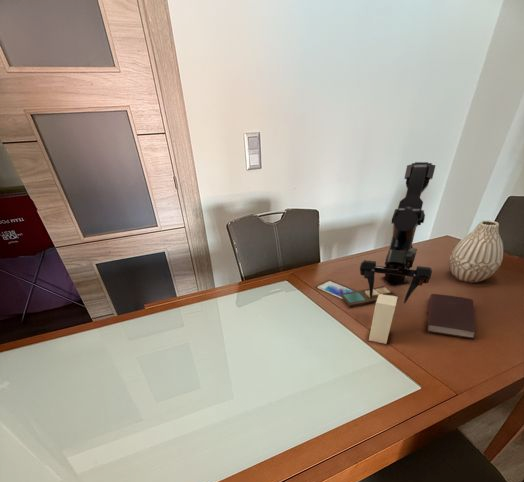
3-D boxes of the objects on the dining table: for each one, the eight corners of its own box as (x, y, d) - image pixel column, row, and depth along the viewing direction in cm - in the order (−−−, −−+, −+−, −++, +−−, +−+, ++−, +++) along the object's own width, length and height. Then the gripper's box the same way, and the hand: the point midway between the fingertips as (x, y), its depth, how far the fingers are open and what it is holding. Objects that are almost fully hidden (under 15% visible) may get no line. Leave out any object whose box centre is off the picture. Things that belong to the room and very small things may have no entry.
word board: (383, 288, 112) (383, 284, 111) (394, 299, 106) (395, 294, 105) (340, 296, 110) (340, 292, 109) (349, 307, 104) (350, 303, 103)
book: (424, 331, 91) (428, 323, 89) (428, 300, 104) (431, 291, 102) (473, 340, 86) (477, 331, 84) (470, 306, 99) (474, 298, 97)
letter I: (371, 330, 93) (378, 293, 85) (388, 334, 91) (397, 296, 83) (368, 340, 90) (376, 302, 82) (386, 343, 88) (395, 305, 80)
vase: (467, 265, 121) (488, 212, 109) (503, 282, 110) (530, 225, 97) (434, 273, 118) (451, 220, 106) (467, 291, 107) (490, 234, 94)
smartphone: (329, 280, 120) (360, 293, 110) (329, 282, 120) (360, 295, 111) (316, 286, 116) (348, 300, 107) (316, 288, 117) (347, 302, 107)
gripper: (366, 232, 83) (352, 286, 82) (442, 238, 76) (427, 297, 76) (367, 249, 93) (354, 298, 93) (434, 256, 86) (421, 308, 86)
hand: (387, 300), depth 86 cm, fingers open, 9 cm apart
